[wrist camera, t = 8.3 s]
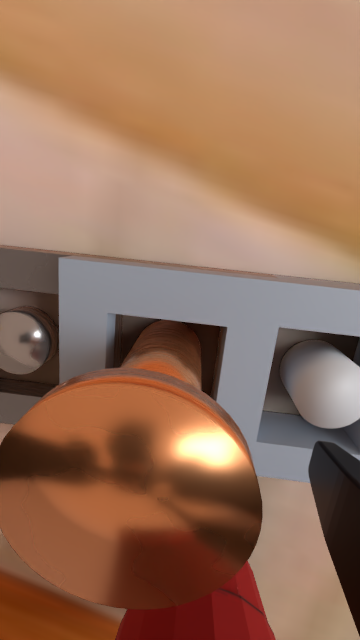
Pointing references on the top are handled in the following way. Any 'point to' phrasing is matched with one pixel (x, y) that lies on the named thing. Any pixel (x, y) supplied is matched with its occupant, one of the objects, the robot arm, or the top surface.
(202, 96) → the top surface
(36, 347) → the lower chain end
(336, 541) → the robot arm
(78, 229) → the top surface
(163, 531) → the pin
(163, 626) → the plastic cup
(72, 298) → the frame
